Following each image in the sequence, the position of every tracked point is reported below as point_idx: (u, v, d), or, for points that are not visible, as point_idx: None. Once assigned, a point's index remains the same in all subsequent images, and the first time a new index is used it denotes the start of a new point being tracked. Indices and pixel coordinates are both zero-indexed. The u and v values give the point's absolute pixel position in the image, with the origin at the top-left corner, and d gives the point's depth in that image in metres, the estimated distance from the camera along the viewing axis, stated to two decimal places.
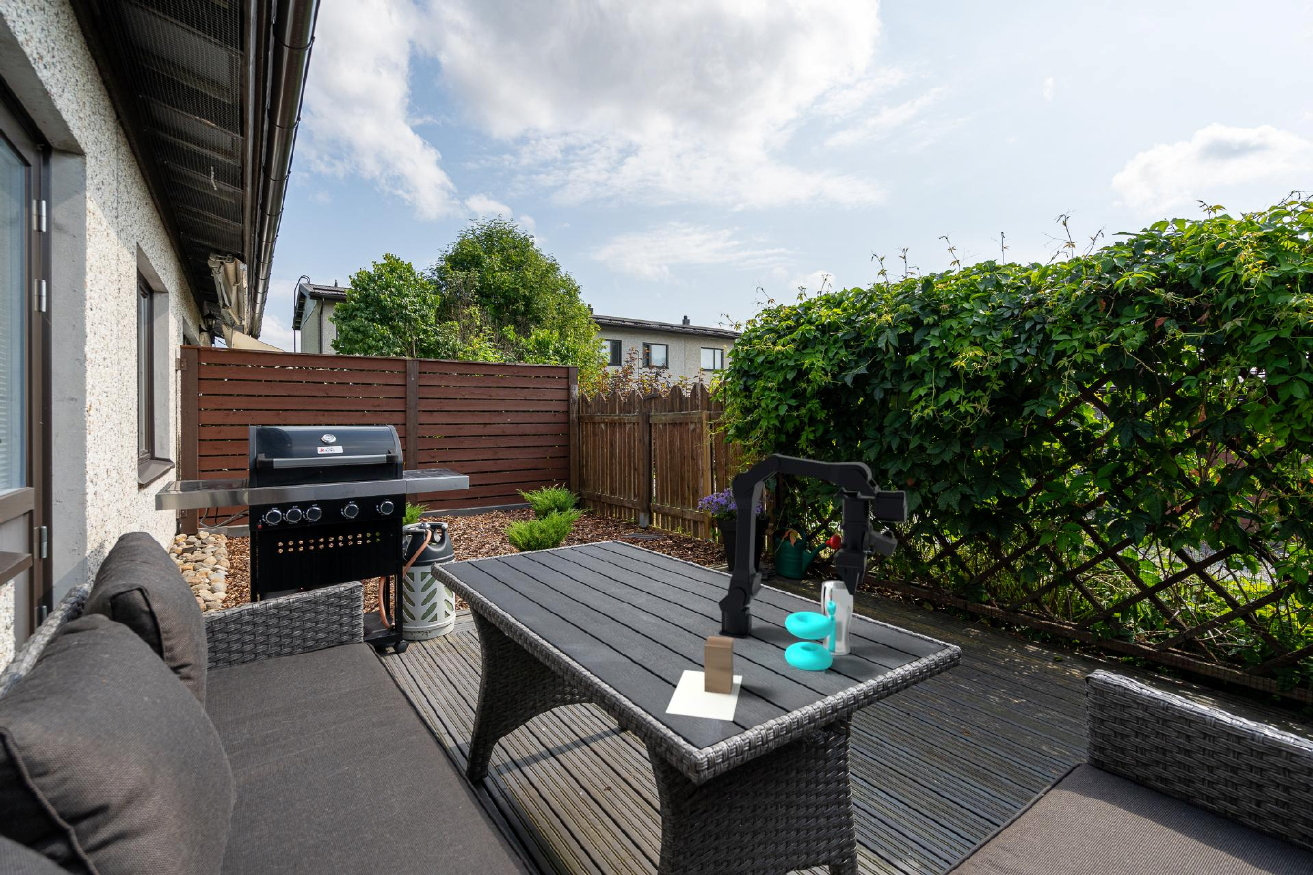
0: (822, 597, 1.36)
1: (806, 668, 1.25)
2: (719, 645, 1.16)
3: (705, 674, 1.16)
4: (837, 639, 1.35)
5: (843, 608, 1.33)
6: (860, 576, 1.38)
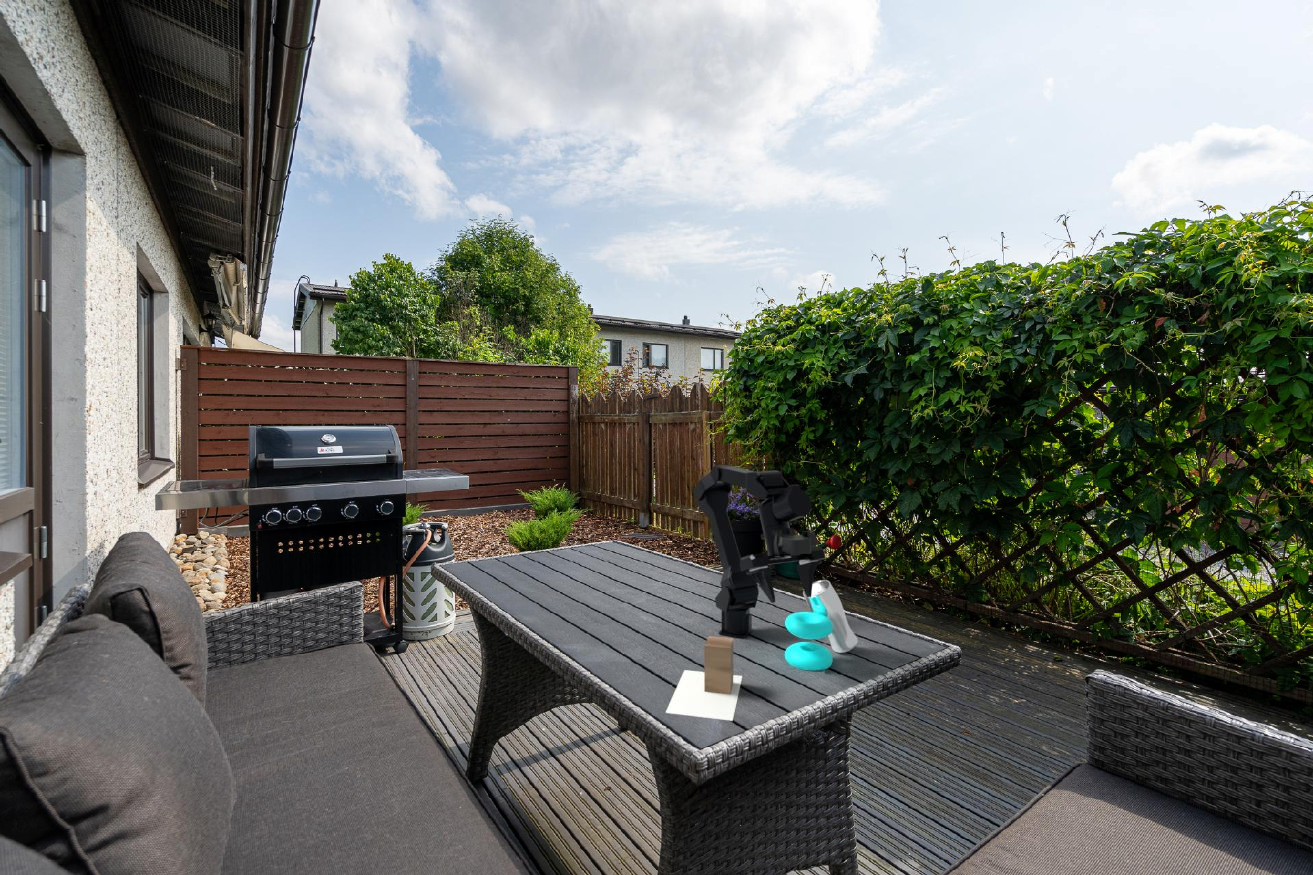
0: None
1: (806, 668, 1.25)
2: (719, 645, 1.16)
3: (705, 674, 1.16)
4: (835, 638, 1.34)
5: (824, 612, 1.32)
6: (807, 588, 1.29)
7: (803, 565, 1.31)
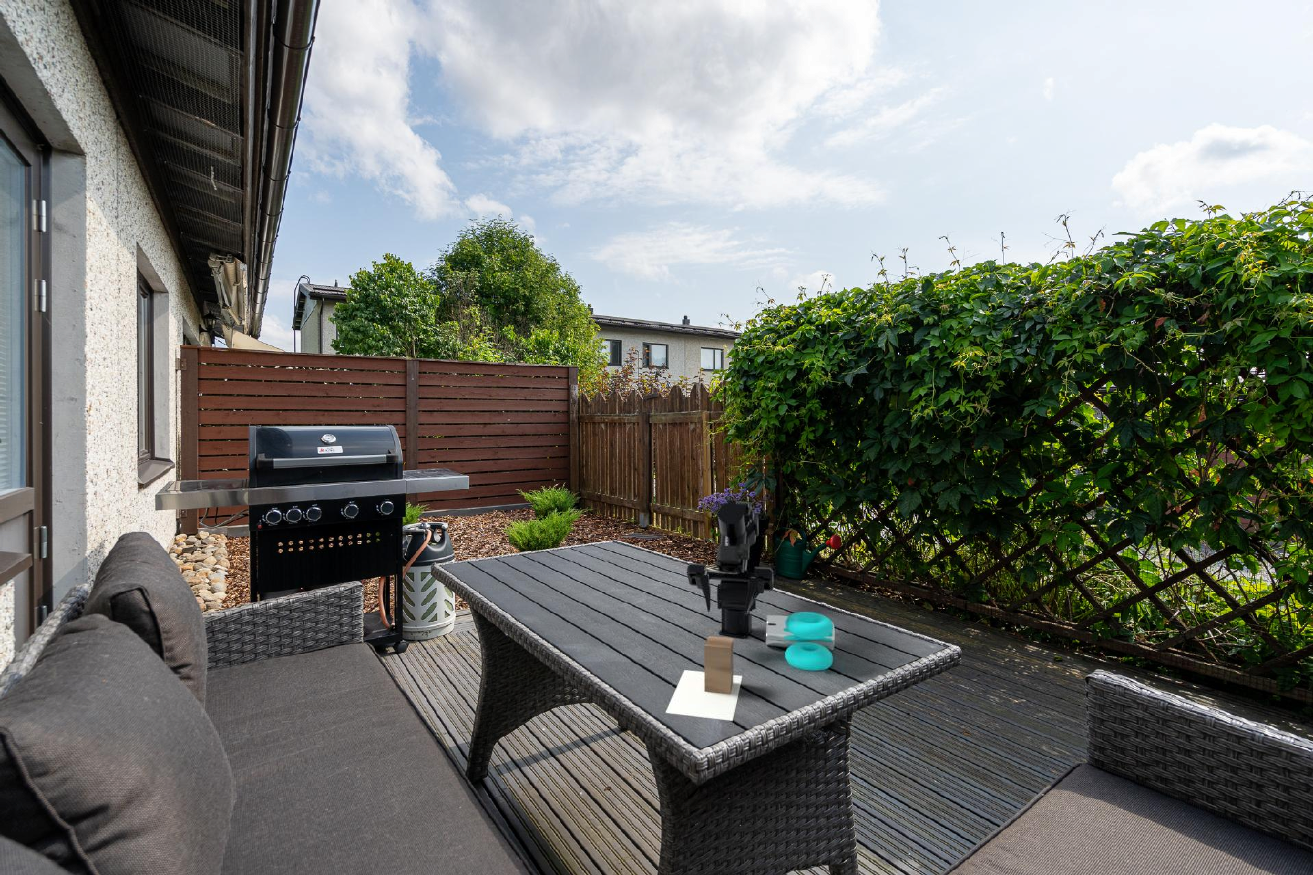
0: None
1: (806, 668, 1.25)
2: (719, 645, 1.16)
3: (705, 674, 1.16)
4: (818, 641, 1.36)
5: (785, 637, 1.36)
6: None
7: None
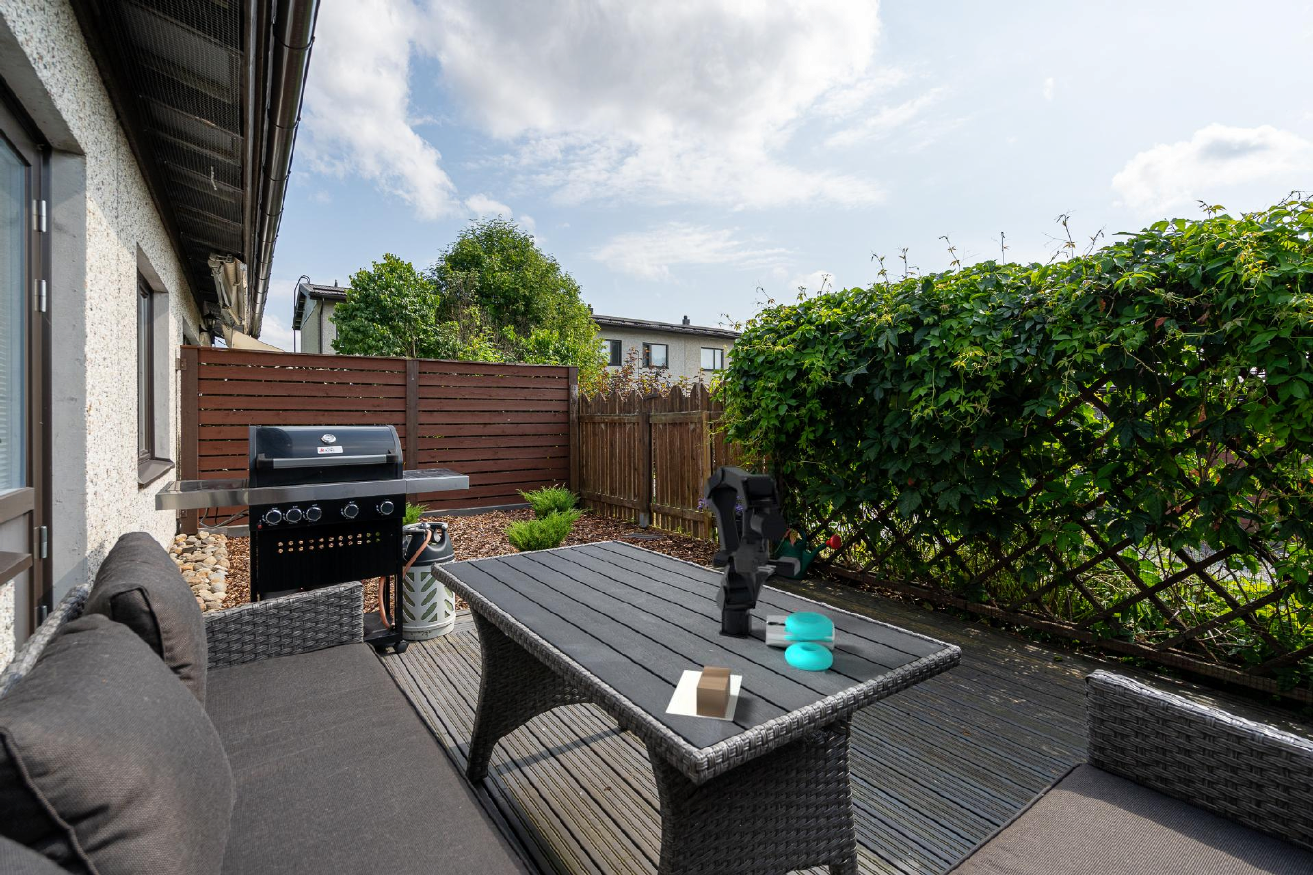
0: None
1: (806, 668, 1.25)
2: (711, 712, 1.07)
3: None
4: (818, 641, 1.36)
5: (785, 637, 1.36)
6: None
7: None
